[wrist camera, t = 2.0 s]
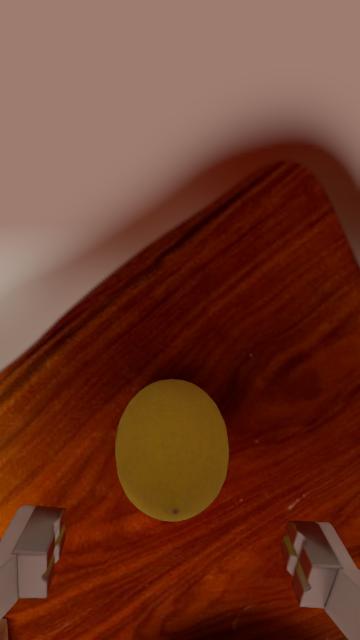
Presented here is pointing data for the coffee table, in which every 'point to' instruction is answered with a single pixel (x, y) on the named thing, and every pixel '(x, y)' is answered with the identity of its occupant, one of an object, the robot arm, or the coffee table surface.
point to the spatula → (3, 629)
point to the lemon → (172, 450)
